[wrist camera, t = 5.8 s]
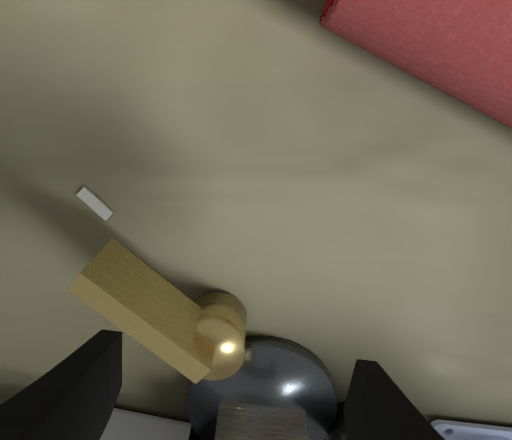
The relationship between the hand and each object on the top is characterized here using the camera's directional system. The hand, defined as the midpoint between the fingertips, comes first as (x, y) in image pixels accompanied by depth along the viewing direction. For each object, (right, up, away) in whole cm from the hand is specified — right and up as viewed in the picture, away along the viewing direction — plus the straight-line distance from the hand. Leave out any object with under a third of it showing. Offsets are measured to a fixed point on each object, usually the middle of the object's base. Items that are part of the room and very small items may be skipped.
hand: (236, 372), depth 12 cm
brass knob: (-3, +1, +8) cm, 9 cm away
